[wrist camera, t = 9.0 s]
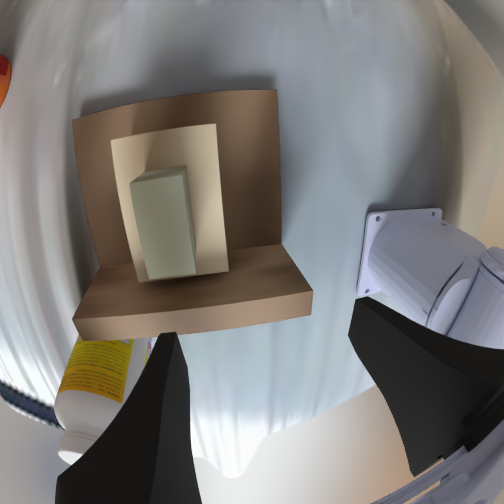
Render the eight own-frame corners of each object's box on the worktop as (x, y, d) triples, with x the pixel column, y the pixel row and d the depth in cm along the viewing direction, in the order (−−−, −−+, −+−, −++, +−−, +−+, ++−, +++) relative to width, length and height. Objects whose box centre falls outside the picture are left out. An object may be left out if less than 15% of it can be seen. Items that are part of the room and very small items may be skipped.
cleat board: (271, 92, 16) (314, 72, 9) (277, 256, 21) (311, 314, 14) (79, 120, 14) (19, 121, 7) (111, 277, 19) (82, 341, 13)
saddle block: (212, 125, 15) (220, 120, 9) (222, 241, 18) (236, 304, 12) (130, 137, 14) (86, 144, 8) (149, 251, 17) (128, 316, 11)
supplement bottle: (71, 319, 20) (24, 439, 8) (126, 296, 20) (88, 442, 9) (112, 366, 23) (93, 481, 12) (166, 351, 23) (163, 482, 12)
